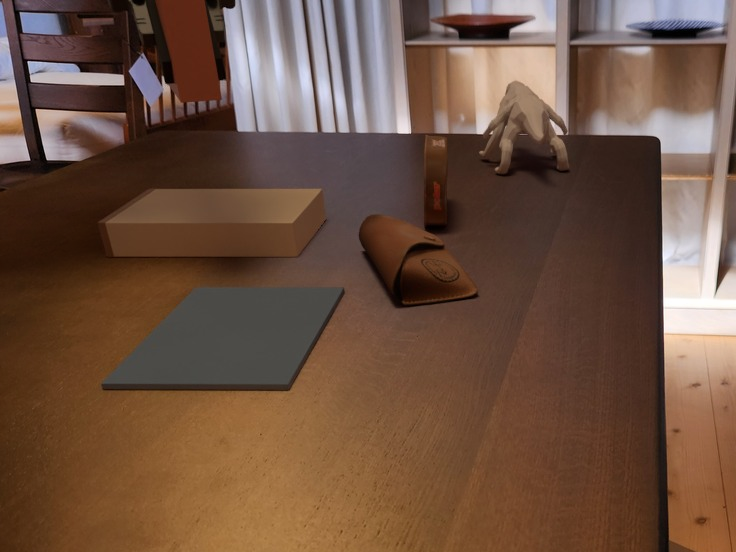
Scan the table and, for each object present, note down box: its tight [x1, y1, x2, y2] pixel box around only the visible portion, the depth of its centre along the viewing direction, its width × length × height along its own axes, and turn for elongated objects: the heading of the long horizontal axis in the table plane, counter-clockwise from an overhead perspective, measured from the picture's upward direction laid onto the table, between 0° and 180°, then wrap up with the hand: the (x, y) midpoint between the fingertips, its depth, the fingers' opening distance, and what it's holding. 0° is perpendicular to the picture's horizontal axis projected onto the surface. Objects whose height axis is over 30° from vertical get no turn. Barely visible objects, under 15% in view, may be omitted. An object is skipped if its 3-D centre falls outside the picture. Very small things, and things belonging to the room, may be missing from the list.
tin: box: [423, 134, 449, 227], centre depth 101 cm, size 15×3×8 cm, turn 4°
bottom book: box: [97, 187, 327, 258], centre depth 97 cm, size 20×14×4 cm
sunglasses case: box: [358, 213, 479, 306], centre depth 86 cm, size 18×7×7 cm
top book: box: [155, 0, 223, 104], centre depth 79 cm, size 4×12×10 cm, turn 24°
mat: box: [100, 286, 345, 391], centre depth 74 cm, size 14×21×1 cm, turn 178°
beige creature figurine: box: [478, 79, 570, 175], centre depth 121 cm, size 12×25×10 cm, turn 11°
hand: (193, 71), depth 78 cm, fingers closed on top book, 3 cm apart
